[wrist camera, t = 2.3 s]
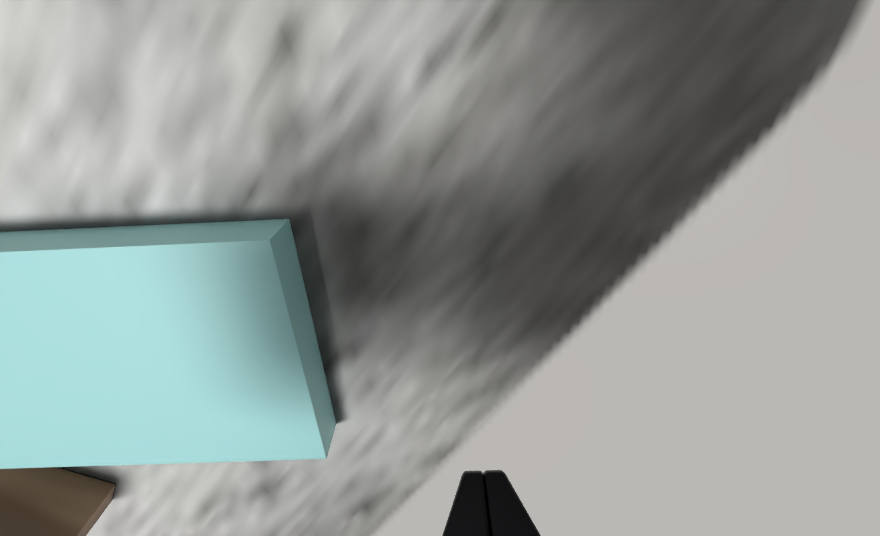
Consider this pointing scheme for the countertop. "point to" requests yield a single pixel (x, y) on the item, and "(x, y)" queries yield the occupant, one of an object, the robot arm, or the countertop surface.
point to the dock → (50, 502)
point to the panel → (158, 347)
